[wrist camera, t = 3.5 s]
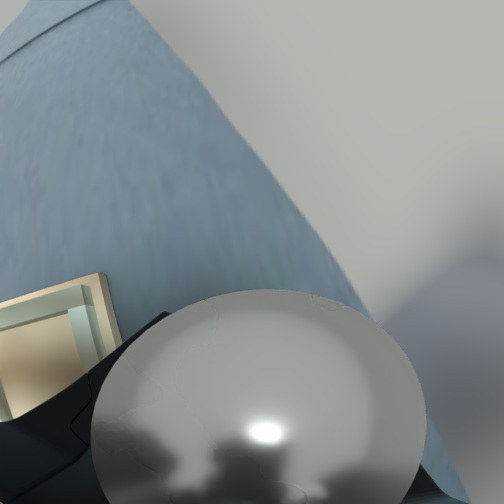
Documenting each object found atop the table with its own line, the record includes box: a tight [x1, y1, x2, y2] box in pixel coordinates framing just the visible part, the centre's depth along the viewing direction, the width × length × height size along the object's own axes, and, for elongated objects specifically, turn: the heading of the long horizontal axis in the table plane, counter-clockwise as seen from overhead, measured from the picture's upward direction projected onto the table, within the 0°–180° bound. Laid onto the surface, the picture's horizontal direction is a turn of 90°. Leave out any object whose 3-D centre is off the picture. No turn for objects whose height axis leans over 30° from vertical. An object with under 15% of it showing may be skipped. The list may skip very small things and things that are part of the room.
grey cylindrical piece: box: [91, 289, 426, 504], centre depth 10 cm, size 5×5×12 cm
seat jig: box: [0, 272, 123, 422], centre depth 13 cm, size 10×10×2 cm
